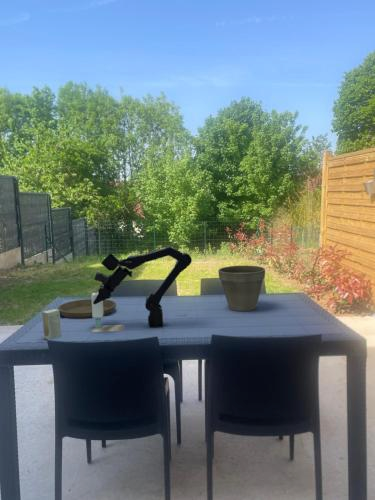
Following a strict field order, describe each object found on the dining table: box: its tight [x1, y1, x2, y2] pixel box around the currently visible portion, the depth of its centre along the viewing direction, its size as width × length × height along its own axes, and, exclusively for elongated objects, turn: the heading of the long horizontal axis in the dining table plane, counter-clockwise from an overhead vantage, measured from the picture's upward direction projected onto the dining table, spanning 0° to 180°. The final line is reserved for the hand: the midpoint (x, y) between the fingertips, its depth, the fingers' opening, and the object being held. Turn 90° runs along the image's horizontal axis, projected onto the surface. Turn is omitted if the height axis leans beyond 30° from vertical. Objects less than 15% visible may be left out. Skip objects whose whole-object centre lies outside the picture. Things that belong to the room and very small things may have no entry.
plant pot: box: [218, 265, 266, 312], centre depth 231 cm, size 25×25×22 cm
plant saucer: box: [57, 298, 117, 319], centre depth 233 cm, size 31×31×5 cm
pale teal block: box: [95, 317, 102, 328], centre depth 201 cm, size 2×2×4 cm
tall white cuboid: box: [90, 292, 104, 319], centre depth 200 cm, size 4×6×10 cm
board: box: [91, 324, 126, 333], centre depth 199 cm, size 14×10×1 cm
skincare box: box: [42, 308, 62, 340], centre depth 188 cm, size 6×4×12 cm
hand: (94, 302), depth 200 cm, fingers closed on tall white cuboid, 5 cm apart
